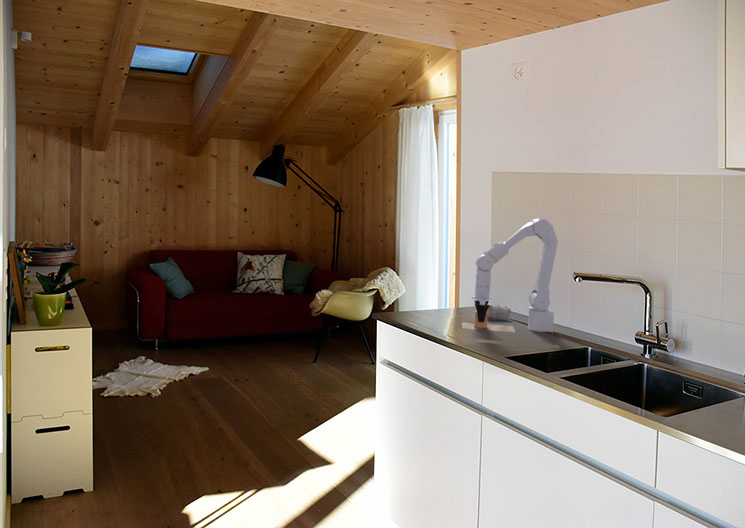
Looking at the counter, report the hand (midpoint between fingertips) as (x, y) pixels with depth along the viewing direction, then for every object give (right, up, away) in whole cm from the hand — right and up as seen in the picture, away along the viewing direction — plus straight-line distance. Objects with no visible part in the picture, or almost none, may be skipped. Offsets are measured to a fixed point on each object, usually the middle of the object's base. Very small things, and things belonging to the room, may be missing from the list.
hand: (480, 320), depth 251 cm
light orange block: (0, -2, 0) cm, 2 cm away
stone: (+9, -2, +19) cm, 21 cm away
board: (+3, -4, -1) cm, 5 cm away
